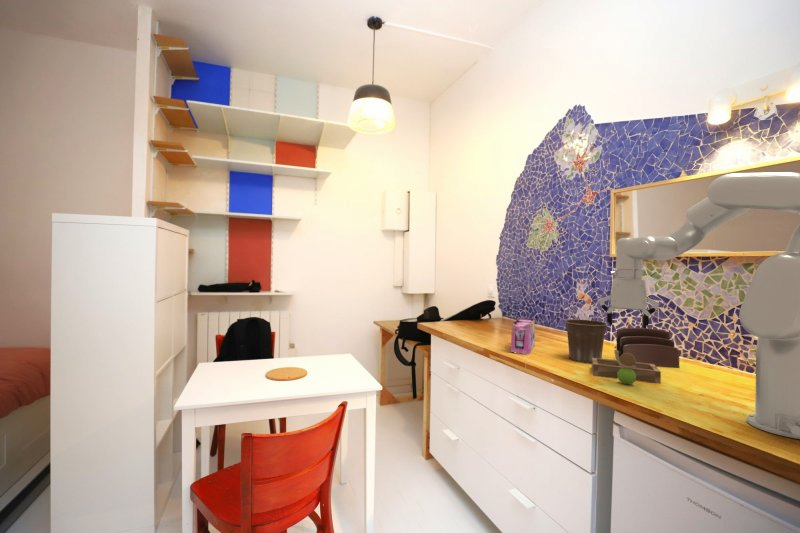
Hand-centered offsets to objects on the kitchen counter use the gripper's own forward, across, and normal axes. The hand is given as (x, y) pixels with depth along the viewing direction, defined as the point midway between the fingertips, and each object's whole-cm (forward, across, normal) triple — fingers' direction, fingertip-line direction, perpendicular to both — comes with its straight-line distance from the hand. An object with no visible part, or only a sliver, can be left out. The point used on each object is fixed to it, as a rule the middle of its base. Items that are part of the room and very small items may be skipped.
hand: (627, 326), depth 124 cm
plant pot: (+20, -12, +30) cm, 38 cm away
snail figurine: (+19, 0, 0) cm, 19 cm away
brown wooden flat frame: (+19, +1, +12) cm, 22 cm away
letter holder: (+20, +11, +38) cm, 44 cm away
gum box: (+20, -38, +39) cm, 58 cm away
